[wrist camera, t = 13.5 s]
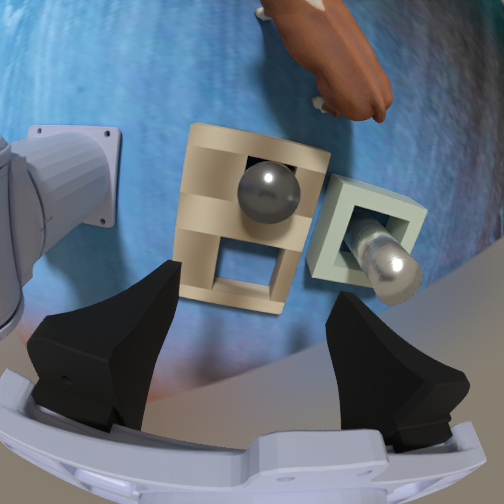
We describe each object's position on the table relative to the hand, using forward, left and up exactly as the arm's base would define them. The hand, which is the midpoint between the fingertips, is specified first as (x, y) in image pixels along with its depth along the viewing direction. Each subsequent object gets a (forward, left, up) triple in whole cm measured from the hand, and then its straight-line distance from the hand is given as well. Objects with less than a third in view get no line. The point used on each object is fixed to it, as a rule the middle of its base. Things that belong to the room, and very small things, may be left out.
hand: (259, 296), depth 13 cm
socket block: (0, 0, -10) cm, 10 cm away
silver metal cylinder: (+8, +1, -10) cm, 13 cm away
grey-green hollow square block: (+8, +1, -10) cm, 13 cm away
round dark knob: (0, +3, -10) cm, 10 cm away
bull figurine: (0, +14, -10) cm, 17 cm away
